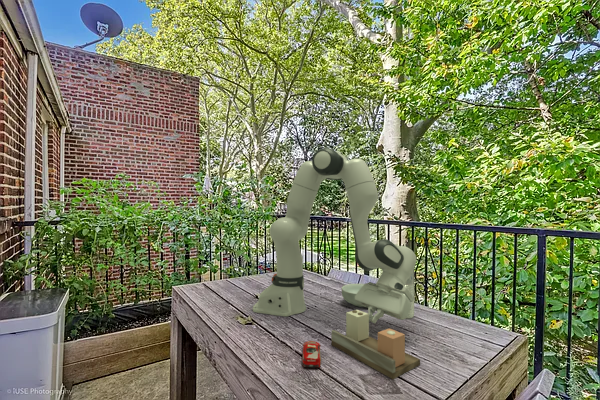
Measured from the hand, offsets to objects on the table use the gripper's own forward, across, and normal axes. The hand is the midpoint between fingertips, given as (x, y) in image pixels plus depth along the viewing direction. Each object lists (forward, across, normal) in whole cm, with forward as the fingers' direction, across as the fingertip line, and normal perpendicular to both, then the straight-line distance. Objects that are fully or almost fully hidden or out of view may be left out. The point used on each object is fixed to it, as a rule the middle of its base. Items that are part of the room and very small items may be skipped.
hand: (370, 321), depth 100 cm
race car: (+21, -1, -13) cm, 25 cm away
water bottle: (-15, -5, +23) cm, 28 cm away
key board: (+9, +8, -2) cm, 12 cm away
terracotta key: (+10, +16, -5) cm, 19 cm away
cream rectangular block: (+7, 0, -2) cm, 7 cm away
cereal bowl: (-12, -26, +20) cm, 35 cm away
